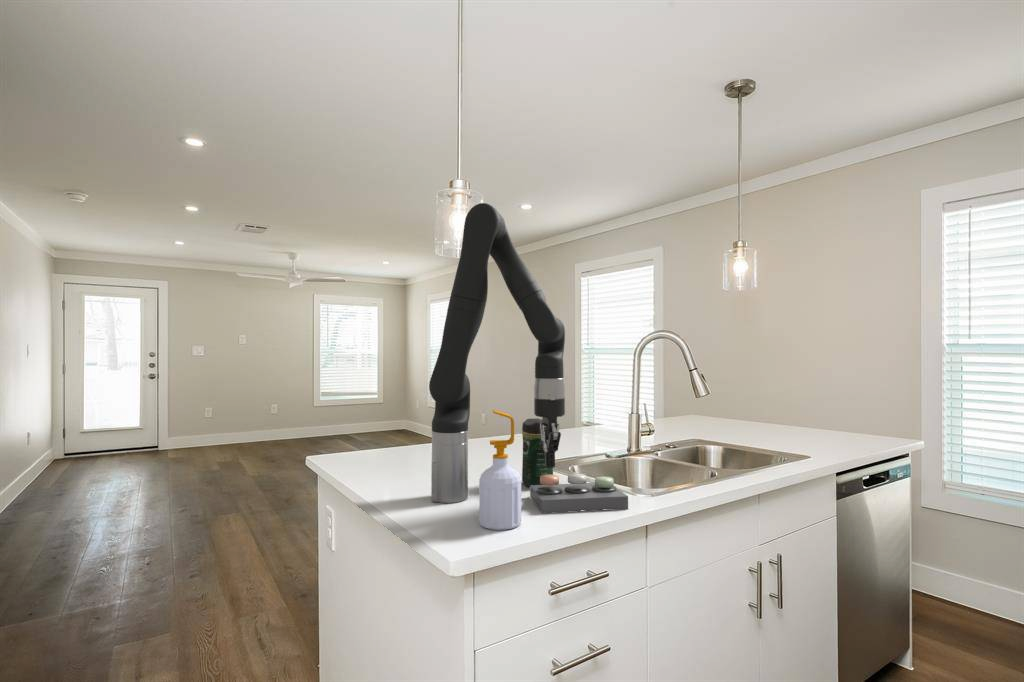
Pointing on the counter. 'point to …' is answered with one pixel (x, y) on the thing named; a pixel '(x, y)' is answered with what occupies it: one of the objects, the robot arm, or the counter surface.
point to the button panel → (577, 497)
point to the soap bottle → (500, 489)
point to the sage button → (604, 482)
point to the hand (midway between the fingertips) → (549, 467)
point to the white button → (577, 478)
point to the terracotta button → (549, 480)
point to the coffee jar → (533, 453)
